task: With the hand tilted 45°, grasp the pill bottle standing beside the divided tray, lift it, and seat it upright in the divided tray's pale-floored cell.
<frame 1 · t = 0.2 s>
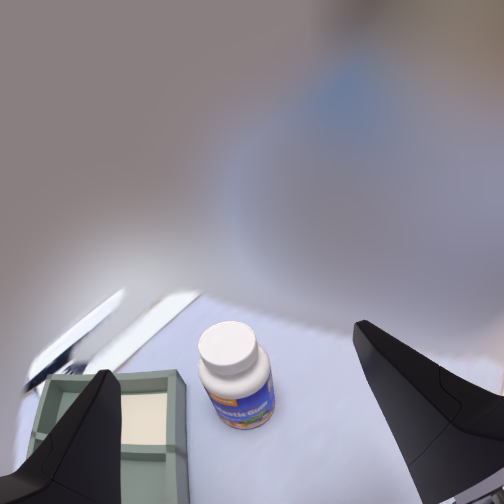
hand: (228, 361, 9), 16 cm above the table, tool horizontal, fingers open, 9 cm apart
divided tray: (107, 455, 19), on the table
pill bottle: (246, 405, 24), on the table
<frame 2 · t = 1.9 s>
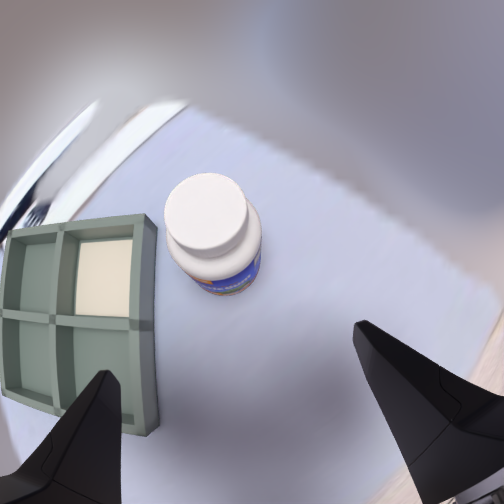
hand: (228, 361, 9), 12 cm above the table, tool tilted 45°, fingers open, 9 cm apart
divided tray: (72, 322, 21), on the table
pill bottle: (226, 262, 22), on the table
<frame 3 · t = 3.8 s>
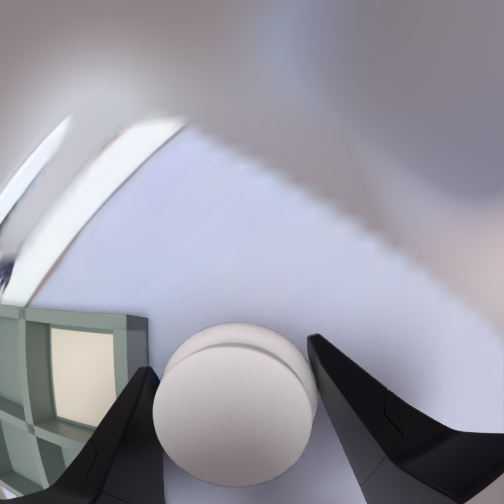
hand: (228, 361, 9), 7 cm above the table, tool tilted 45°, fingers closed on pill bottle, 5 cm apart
divided tray: (55, 421, 14), on the table
pill bottle: (246, 372, 15), on the table, touching gripper
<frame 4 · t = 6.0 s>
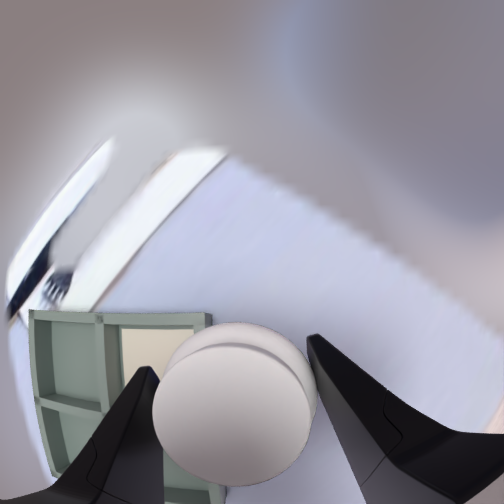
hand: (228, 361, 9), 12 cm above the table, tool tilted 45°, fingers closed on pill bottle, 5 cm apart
divided tray: (123, 409, 19), on the table
pill bottle: (247, 371, 15), point 5 cm above the table, touching gripper
when the fingers open (8 cm above the table, at t = 8.0 s): pill bottle stays where it is, resting on divided tray.
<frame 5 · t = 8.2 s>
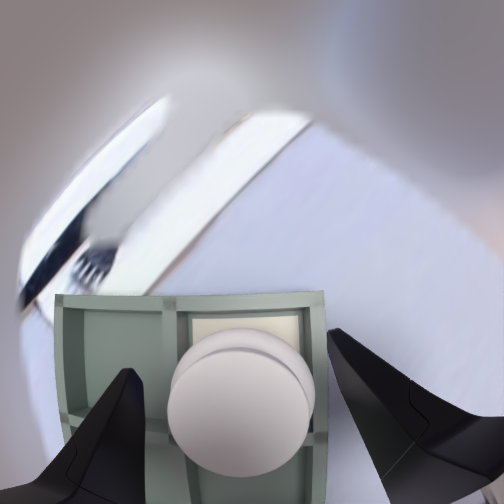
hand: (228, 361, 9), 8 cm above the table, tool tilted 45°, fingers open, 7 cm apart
divided tray: (188, 425, 15), on the table
pill bottle: (248, 373, 16), resting on divided tray
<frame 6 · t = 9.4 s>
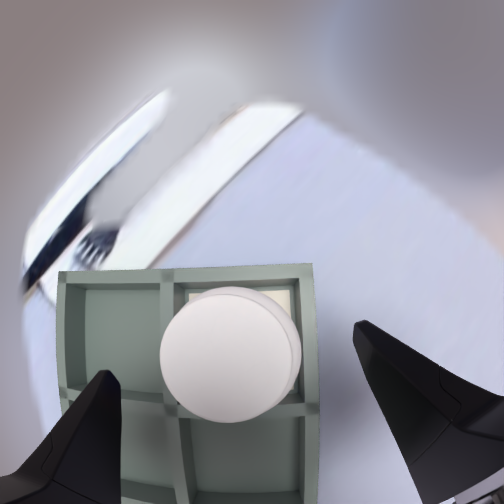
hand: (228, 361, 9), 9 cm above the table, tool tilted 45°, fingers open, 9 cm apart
divided tray: (183, 399, 17), on the table
pill bottle: (241, 345, 17), resting on divided tray
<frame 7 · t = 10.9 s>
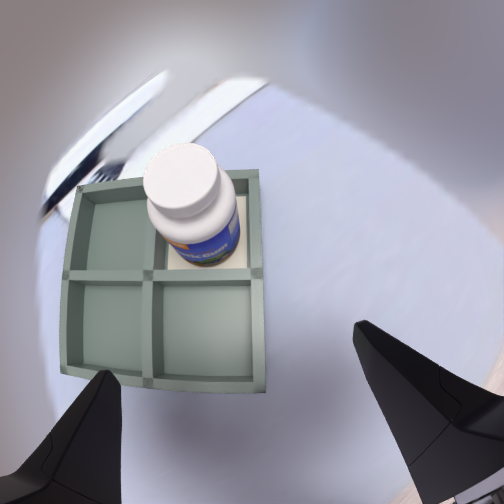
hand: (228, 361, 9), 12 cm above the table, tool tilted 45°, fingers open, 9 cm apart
divided tray: (160, 282, 23), on the table
pill bottle: (208, 236, 23), resting on divided tray
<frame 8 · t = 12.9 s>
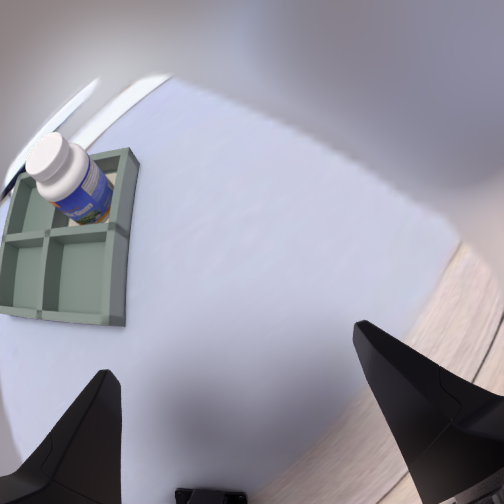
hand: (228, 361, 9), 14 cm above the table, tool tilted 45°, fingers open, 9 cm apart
divided tray: (64, 242, 25), on the table
pill bottle: (96, 204, 26), resting on divided tray
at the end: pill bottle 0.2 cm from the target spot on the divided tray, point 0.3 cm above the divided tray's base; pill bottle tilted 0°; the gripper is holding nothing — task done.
